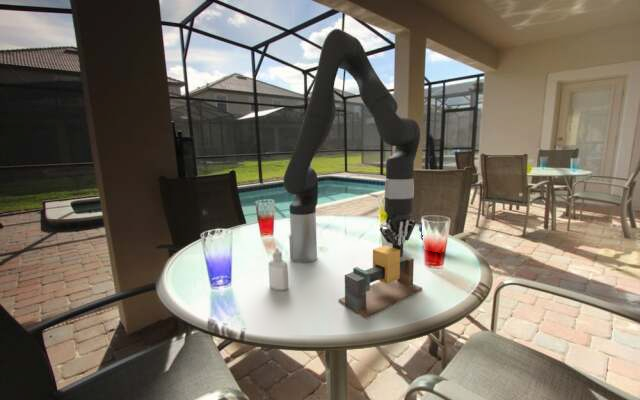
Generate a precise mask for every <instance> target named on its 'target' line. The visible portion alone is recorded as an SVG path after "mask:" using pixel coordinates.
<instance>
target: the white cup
mask: <svg viewBox="0 0 640 400" xmlns="http://www.w3.org/2000/svg"><path fill="white" fill-rule="evenodd" d="M385 225H386V220H383V221H380V228H381V227H384V226H385ZM380 237H381V247H382V246H385V245H386V246H389V247H392V248H393V244H391V243H388V242H387V241H386V239H385V238H384V236H383V235H382V233H381V232H380Z"/></svg>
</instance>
